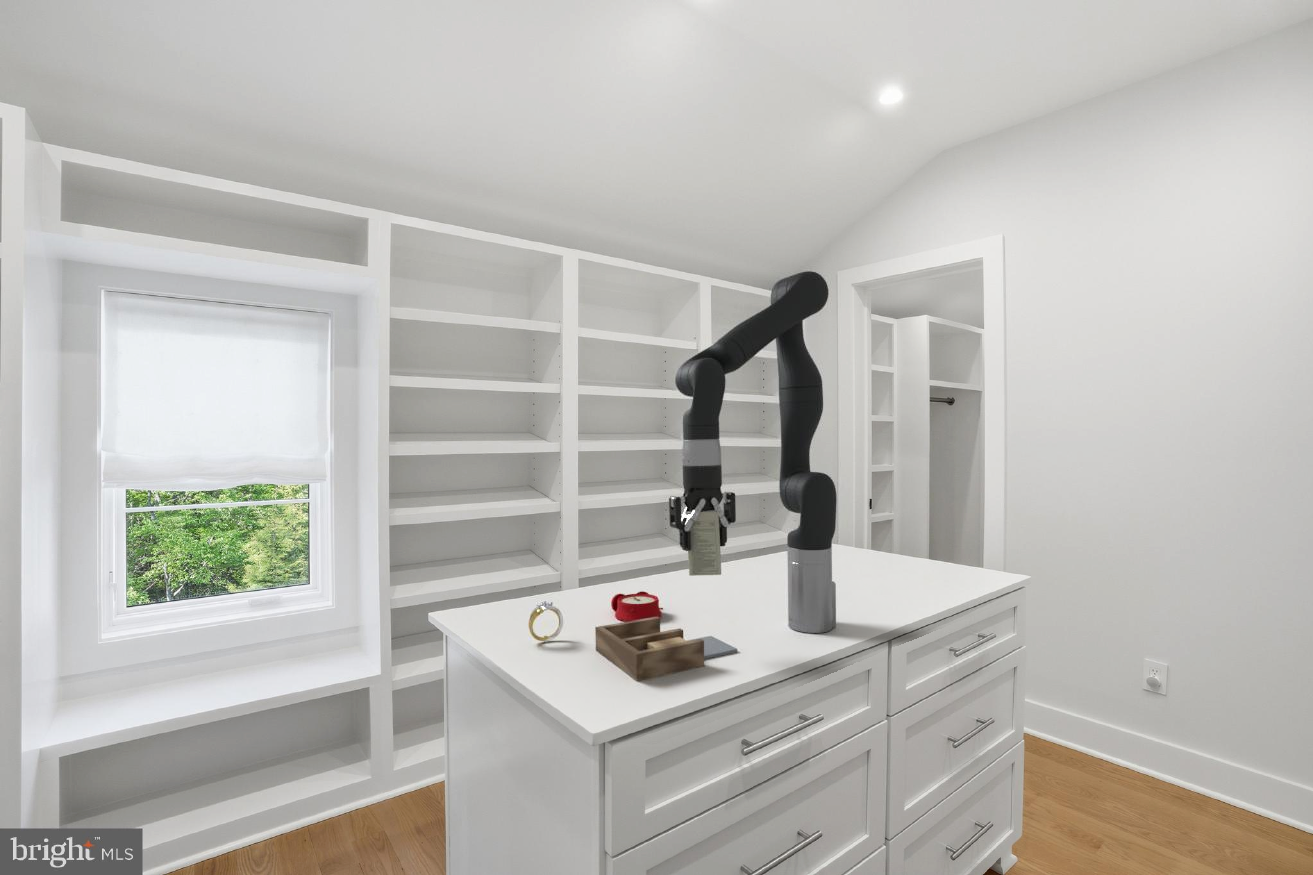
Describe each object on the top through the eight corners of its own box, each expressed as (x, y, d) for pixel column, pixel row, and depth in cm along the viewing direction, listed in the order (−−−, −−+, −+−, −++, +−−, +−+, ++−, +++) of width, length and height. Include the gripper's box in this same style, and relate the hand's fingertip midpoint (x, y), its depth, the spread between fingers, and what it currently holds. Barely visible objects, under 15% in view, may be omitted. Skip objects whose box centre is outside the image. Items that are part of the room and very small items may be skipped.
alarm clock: (624, 610, 133) (605, 579, 147) (622, 637, 135) (604, 604, 149) (670, 605, 137) (647, 575, 151) (668, 631, 138) (645, 599, 152)
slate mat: (710, 638, 125) (710, 635, 125) (737, 652, 117) (737, 648, 117) (672, 646, 120) (672, 643, 120) (697, 660, 113) (697, 657, 113)
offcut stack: (683, 656, 116) (683, 635, 116) (696, 664, 111) (696, 642, 111) (645, 664, 112) (645, 642, 112) (657, 672, 108) (657, 650, 108)
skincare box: (721, 570, 121) (719, 508, 121) (721, 575, 116) (719, 511, 116) (688, 570, 121) (687, 508, 121) (687, 576, 117) (685, 511, 117)
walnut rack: (657, 638, 125) (657, 616, 125) (704, 665, 110) (704, 640, 110) (595, 650, 119) (595, 627, 119) (636, 681, 103) (636, 654, 103)
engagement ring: (530, 646, 121) (529, 605, 121) (527, 641, 124) (527, 601, 124) (564, 641, 124) (564, 602, 124) (561, 637, 127) (561, 598, 127)
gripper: (679, 465, 112) (682, 555, 112) (743, 461, 119) (745, 546, 119) (660, 464, 119) (662, 549, 119) (721, 460, 125) (723, 541, 126)
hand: (704, 547), depth 119 cm, fingers closed on skincare box, 7 cm apart
